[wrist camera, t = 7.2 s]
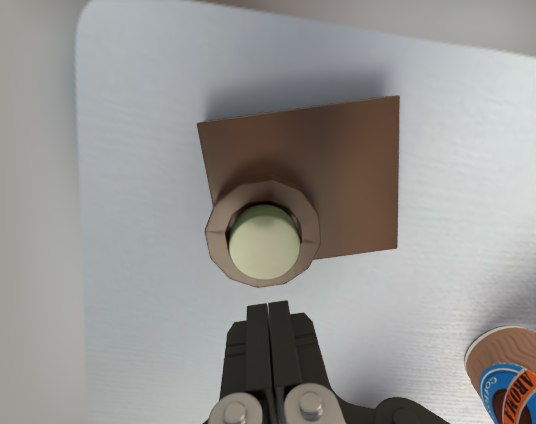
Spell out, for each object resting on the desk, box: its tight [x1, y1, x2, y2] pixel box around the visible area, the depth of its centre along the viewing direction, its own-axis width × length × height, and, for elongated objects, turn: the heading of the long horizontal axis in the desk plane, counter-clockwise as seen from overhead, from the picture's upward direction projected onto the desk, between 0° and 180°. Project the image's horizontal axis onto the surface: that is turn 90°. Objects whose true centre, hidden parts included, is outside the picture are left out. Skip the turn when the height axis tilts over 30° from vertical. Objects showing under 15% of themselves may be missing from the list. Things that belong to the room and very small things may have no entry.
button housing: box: [197, 95, 400, 288], centre depth 20 cm, size 12×10×4 cm
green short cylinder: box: [229, 204, 301, 280], centre depth 18 cm, size 4×4×2 cm
